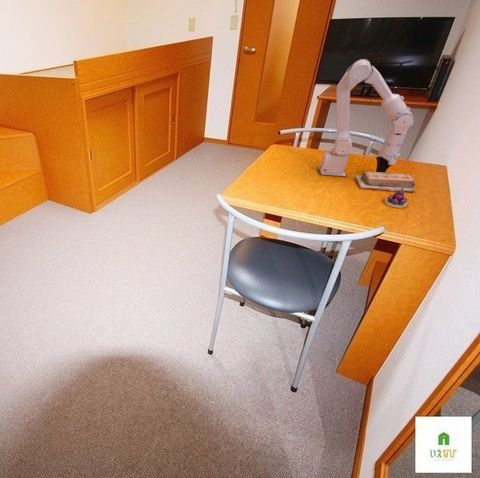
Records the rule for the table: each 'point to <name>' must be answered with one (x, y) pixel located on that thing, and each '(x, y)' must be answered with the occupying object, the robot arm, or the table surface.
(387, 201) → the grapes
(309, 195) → the table surface
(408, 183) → the packaged product
